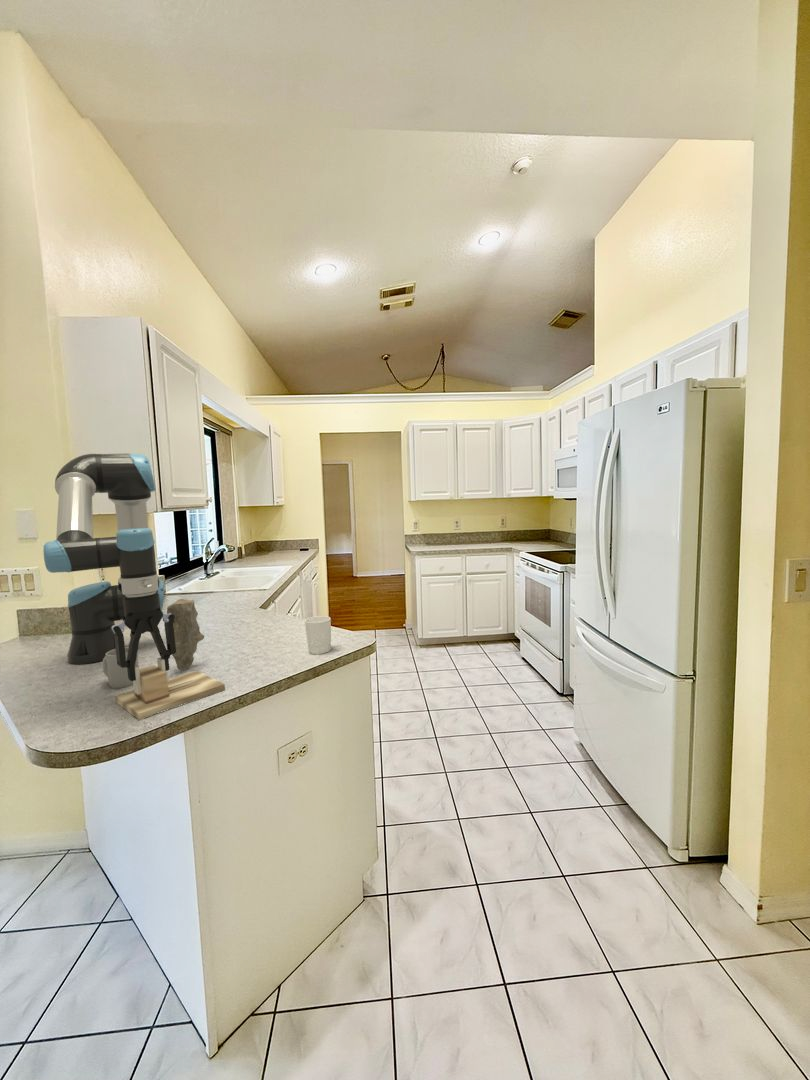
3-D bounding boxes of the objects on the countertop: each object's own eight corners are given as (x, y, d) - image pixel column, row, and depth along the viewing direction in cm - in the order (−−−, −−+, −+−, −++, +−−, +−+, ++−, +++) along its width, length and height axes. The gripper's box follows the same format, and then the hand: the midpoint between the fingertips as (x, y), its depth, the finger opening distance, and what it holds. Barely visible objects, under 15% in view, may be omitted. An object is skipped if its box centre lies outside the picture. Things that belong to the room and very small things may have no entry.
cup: (125, 689, 122) (121, 656, 121) (94, 687, 124) (90, 654, 124) (146, 678, 129) (143, 647, 128) (116, 676, 131) (113, 646, 131)
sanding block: (134, 695, 114) (131, 671, 113) (157, 688, 118) (154, 665, 117) (146, 704, 108) (143, 679, 108) (169, 696, 112) (167, 672, 111)
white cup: (337, 648, 146) (335, 617, 146) (320, 656, 140) (318, 623, 139) (319, 645, 151) (317, 615, 150) (301, 652, 144) (299, 621, 143)
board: (115, 701, 114) (114, 695, 114) (197, 675, 129) (196, 670, 129) (139, 720, 104) (138, 713, 103) (225, 689, 118) (224, 683, 118)
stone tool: (174, 677, 128) (167, 606, 127) (162, 674, 131) (155, 604, 129) (212, 662, 139) (206, 596, 137) (200, 660, 142) (194, 595, 140)
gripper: (102, 603, 101) (113, 706, 104) (186, 588, 115) (195, 680, 117) (92, 599, 107) (103, 697, 109) (174, 585, 120) (182, 673, 122)
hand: (150, 688), depth 113 cm, fingers closed on sanding block, 5 cm apart
